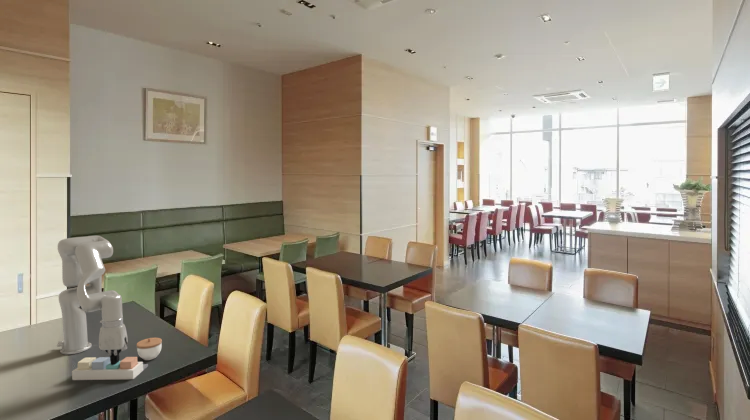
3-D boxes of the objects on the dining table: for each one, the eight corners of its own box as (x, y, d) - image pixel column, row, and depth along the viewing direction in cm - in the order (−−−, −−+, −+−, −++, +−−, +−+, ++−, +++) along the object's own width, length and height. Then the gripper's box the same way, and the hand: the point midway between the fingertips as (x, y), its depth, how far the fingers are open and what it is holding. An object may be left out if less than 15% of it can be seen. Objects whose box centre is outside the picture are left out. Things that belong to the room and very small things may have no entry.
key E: (78, 373, 170) (77, 362, 170) (85, 368, 175) (85, 357, 175) (89, 373, 171) (88, 362, 170) (96, 368, 175) (96, 357, 175)
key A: (120, 372, 171) (119, 361, 171) (126, 367, 176) (126, 356, 175) (131, 372, 171) (131, 361, 171) (137, 367, 176) (137, 356, 176)
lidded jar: (144, 364, 183) (143, 345, 182) (132, 358, 189) (131, 340, 188) (167, 355, 192) (166, 337, 192) (155, 350, 198) (154, 332, 197)
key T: (106, 376, 171) (105, 365, 171) (113, 371, 176) (112, 360, 175) (117, 376, 171) (117, 365, 171) (124, 371, 176) (123, 360, 175)
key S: (92, 373, 171) (91, 362, 170) (99, 368, 175) (99, 357, 175) (103, 373, 171) (102, 362, 170) (110, 367, 176) (109, 357, 175)
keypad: (72, 380, 169) (71, 371, 169) (91, 366, 181) (90, 358, 180) (133, 379, 170) (132, 370, 170) (148, 366, 182) (147, 357, 181)
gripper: (89, 326, 167) (91, 367, 169) (125, 325, 168) (127, 366, 170) (101, 319, 175) (103, 359, 176) (135, 319, 175) (137, 358, 177)
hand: (115, 362), depth 173 cm, fingers closed
